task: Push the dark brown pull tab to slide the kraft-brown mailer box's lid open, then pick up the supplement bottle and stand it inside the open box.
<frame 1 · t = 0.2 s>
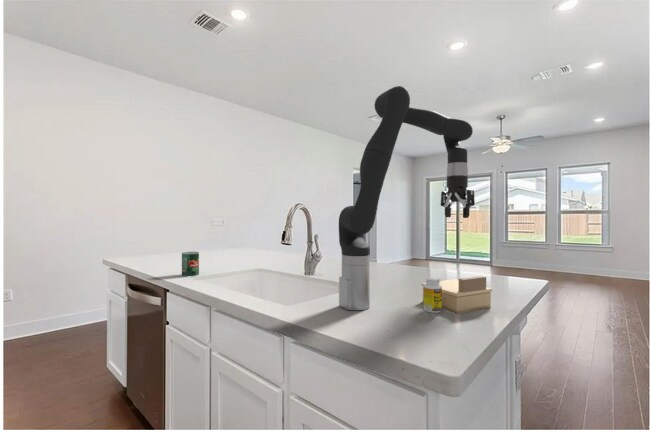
hand: (456, 217, 125), 29 cm above the worktop, tool pointing down, fingers open, 8 cm apart
canned tomato: (190, 275, 159), on the worktop
supplement bottle: (432, 311, 103), on the worktop
mailer box: (455, 304, 110), on the worktop
lid: (455, 281, 110), point 8 cm above the worktop, slide at 0.0 cm
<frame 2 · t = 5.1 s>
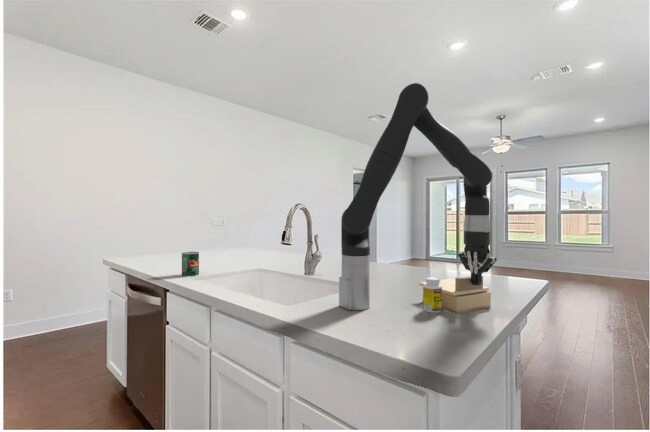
hand: (476, 284, 102), 8 cm above the worktop, tool pointing down, fingers closed
lid: (452, 280, 111), point 8 cm above the worktop, slide at 1.3 cm, touching gripper
everything else where it was.
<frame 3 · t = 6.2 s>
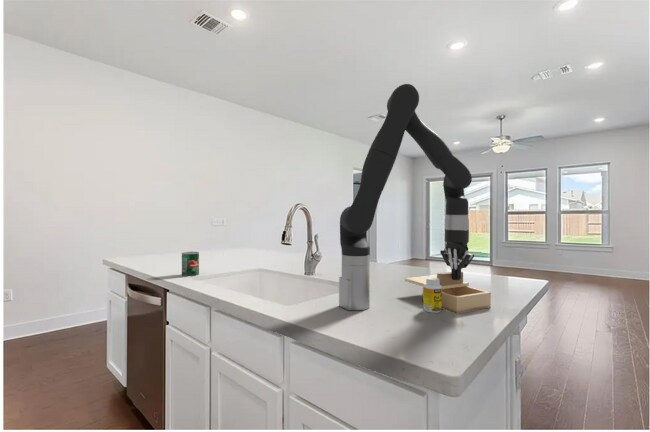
hand: (456, 279, 109), 8 cm above the worktop, tool pointing down, fingers closed
lid: (435, 276, 118), point 8 cm above the worktop, slide at 9.2 cm, touching gripper
everything else where it was.
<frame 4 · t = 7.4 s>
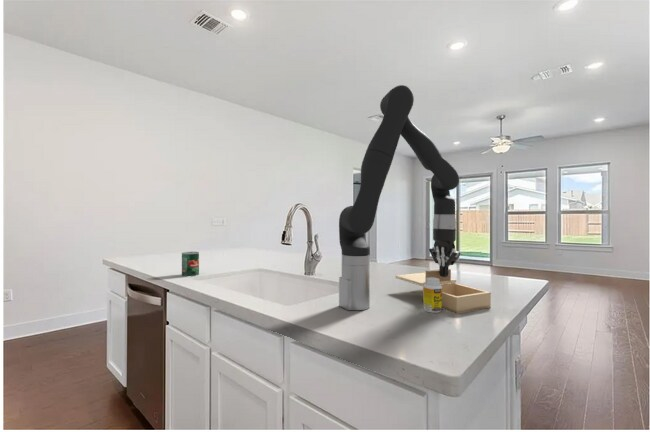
hand: (443, 276, 114), 8 cm above the worktop, tool pointing down, fingers closed
lid: (425, 273, 123), point 8 cm above the worktop, slide at 14.8 cm, touching gripper
everything else where it was.
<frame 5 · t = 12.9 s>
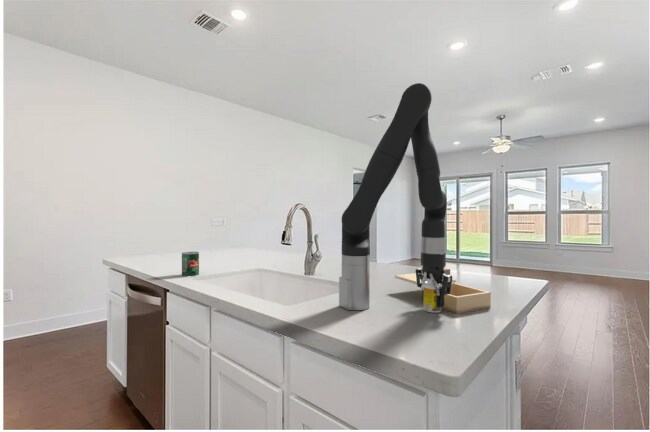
hand: (432, 304, 103), 2 cm above the worktop, tool pointing down, fingers closed on supplement bottle, 5 cm apart
supplement bottle: (432, 311, 103), on the worktop, touching gripper
lid: (424, 273, 123), point 8 cm above the worktop, slide at 15.1 cm
everything else where it was.
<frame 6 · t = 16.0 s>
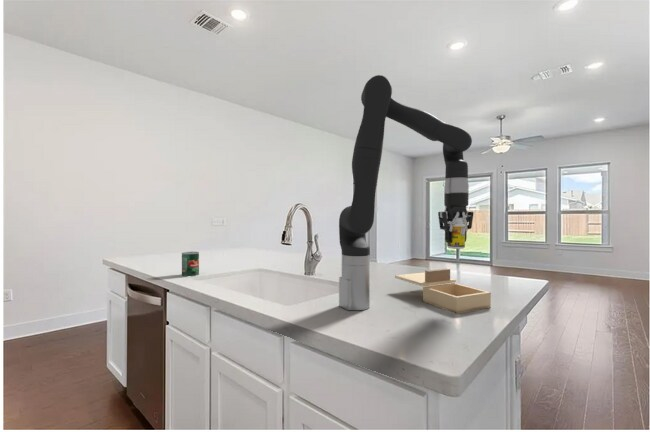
hand: (455, 242, 109), 21 cm above the worktop, tool pointing down, fingers closed on supplement bottle, 5 cm apart
supplement bottle: (455, 248, 109), point 19 cm above the worktop, touching gripper
everything else where it was.
when the fingers open (4 cm above the worktop, at t = 19.5 s): supplement bottle drops 2 cm, resting on mailer box.
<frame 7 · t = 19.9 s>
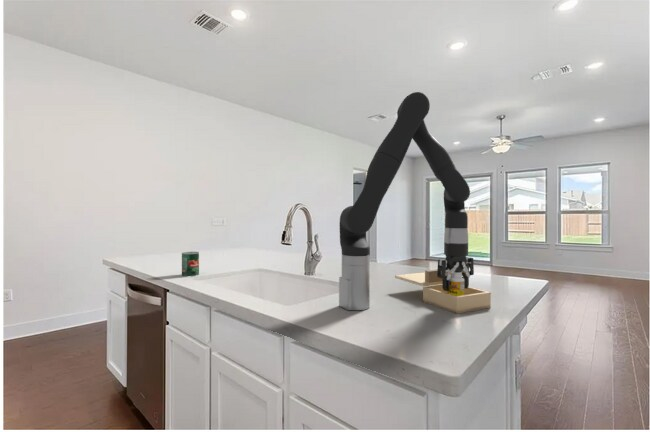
hand: (455, 289, 110), 5 cm above the worktop, tool pointing down, fingers open, 8 cm apart
supplement bottle: (455, 302, 110), point 1 cm above the worktop, touching mailer box
everything else where it was.
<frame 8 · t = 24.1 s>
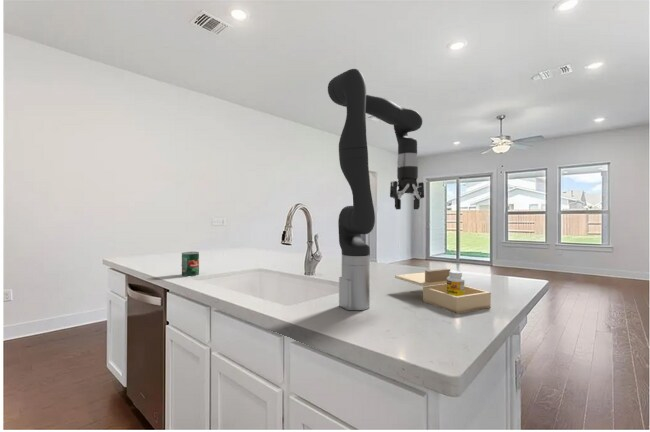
hand: (407, 209, 123), 32 cm above the worktop, tool pointing down, fingers open, 8 cm apart
nothing on the worktop moved.
at the end: lid slide at 15.1 cm; supplement bottle inside the target area on the mailer box (0.1 cm from its centre), point 0.6 cm above the mailer box's base; supplement bottle tilted 0° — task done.
